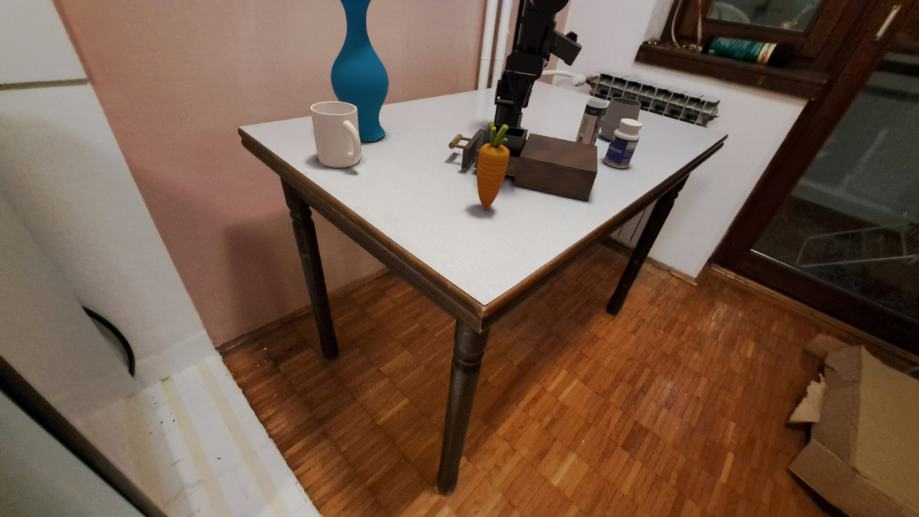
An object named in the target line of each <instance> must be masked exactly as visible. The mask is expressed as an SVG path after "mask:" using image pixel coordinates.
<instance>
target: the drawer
mask: <svg viewBox="0 0 919 517" xmlns="http://www.w3.org/2000/svg"><path fill="white" fill-rule="evenodd" d="M485 130H486V128H479V129H478V130H477V131H476V132H475V133H474V135H473V136H472V137H467V136H466V137H465V136H463V135H462V134H461V133H457V135H456V136H455V137H454V138H453V139H452V140H451V141H450V142H449V143H448V148H449V149H451V150H454V149H461V150H462V158H461V165H460V166H461V169H464V170H468V168H469V167H470V166H471V164H472V163H473V161H474V166H473V167H474V169H477V167H478V157H479V151H480V149H481V148H482V145H483V138H484V131H485ZM461 141H463V142H464V141H465V142H466V144H465V145H462V144H459V143H461ZM526 141H527V138H526ZM525 143H526V142H525ZM518 160H519V157H514V156H509V160H508V164H507V169H506V173H505V176H509V177H514V178H515V175H516V170H517V165H518Z"/></svg>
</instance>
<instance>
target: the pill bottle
mask: <svg viewBox="0 0 919 517" xmlns="http://www.w3.org/2000/svg"><path fill="white" fill-rule="evenodd" d="M642 127H643V123H642V122H641V121H639V120H638V121H636V120H633V119H621V121H620V123H619V128H618V129H616V130H615V131H614V133H613V136H612V139H611V141H610V142H609V144H608V147H607V150H606V153H605V156H604V159H603V161H604V163H605V164H606V165H608V166H610V167H613V168H616V169H625V168H628V167H629V165H630V163H631V161H632V158H633V155H634V153H635V150H636V148H637V146H638V143H639V140H640V138H641V136H640V133H639V132H640V131H641V130H642Z"/></svg>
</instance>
